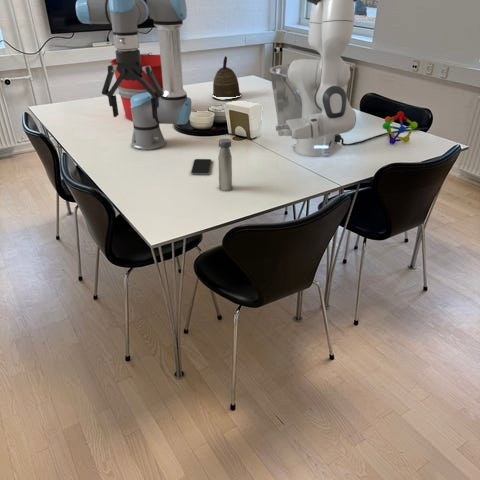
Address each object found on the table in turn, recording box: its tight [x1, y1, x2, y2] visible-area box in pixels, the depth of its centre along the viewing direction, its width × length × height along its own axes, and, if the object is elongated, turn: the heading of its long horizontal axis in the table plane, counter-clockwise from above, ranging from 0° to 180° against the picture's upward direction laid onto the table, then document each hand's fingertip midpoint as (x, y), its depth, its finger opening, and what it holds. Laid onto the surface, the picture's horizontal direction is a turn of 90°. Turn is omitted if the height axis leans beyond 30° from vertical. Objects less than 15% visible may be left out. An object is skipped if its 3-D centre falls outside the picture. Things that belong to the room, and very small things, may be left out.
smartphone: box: [190, 158, 212, 176], centre depth 184 cm, size 7×1×15 cm
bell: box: [212, 56, 242, 97], centre depth 278 cm, size 19×26×20 cm
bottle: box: [218, 148, 233, 192], centre depth 162 cm, size 5×5×18 cm
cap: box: [218, 137, 232, 149], centre depth 158 cm, size 4×4×2 cm
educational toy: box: [382, 110, 418, 145], centre depth 207 cm, size 16×13×15 cm
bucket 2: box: [269, 63, 318, 126], centre depth 226 cm, size 30×30×28 cm
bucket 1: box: [107, 51, 163, 122], centre depth 239 cm, size 35×35×30 cm
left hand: (135, 116), depth 150 cm, fingers open, 13 cm apart
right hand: (277, 131), depth 170 cm, fingers open, 8 cm apart
